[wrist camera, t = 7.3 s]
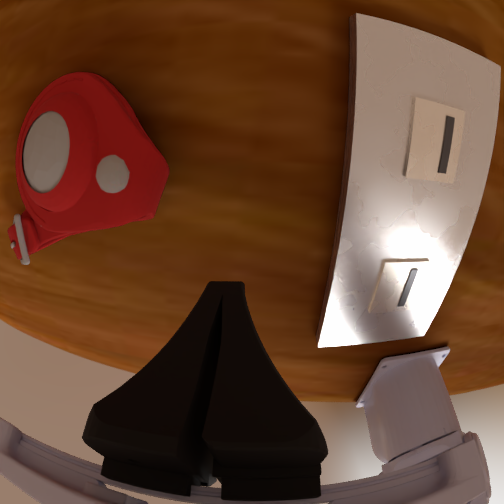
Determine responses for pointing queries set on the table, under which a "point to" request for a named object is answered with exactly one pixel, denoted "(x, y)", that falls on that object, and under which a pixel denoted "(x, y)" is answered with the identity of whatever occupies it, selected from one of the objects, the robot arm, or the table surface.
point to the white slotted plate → (406, 179)
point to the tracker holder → (82, 164)
